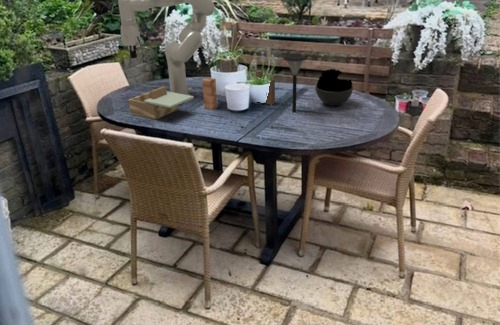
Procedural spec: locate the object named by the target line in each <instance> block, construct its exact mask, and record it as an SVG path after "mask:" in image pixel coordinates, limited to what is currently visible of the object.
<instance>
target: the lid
mask: <svg viewBox="0 0 500 325" xmlns="http://www.w3.org/2000/svg"><path fill="white" fill-rule="evenodd" d="M149 92H150V95H151V98H149V99H147V100H144V103H149V104H154V105H158V106H163V107H168V108H172V107H174V106H176V105H178V106H179V105H180V104H184V103H186V102H188V101H190V100H193V99H194V96H193V95H191V94H190V95H184V94H179V93H174V92H171V91H167V86H164V85H163V86H161V87H158V88H155V89H153V90H150V91H149Z"/></svg>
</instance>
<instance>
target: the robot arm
mask: <svg viewBox="0 0 500 325" xmlns="http://www.w3.org/2000/svg"><path fill="white" fill-rule="evenodd" d="M117 2H118V10H119V16H120V23H121V25H120V39H121V44H122V45H124V46H125V47H126V48H127V50H128V51H129V56H130V59H136V58H137V57H138V54H137V50H138V49H139V48H141V43H142V42H141V41H142V40H141V36H140V30H139V27H138V24H137V17H136V12H146V11H148V10H150V8H153V7H154V8H155V7H158V8H167V7H172V6H178V5H182V4H190V5H191V8H192V18H191V19H190V20H189V22H188V23H187V24H186V25H185V27H184V28H183V29H182V30H181V31H180V33H179V34H178V41H179V42H180V43H178V42H175V41H174V42H173V41H172V42H169V43H168V44H167V45H166V46H165V49H164V53H165V54H164V55H165V58H166V61H167V62H166V63H167V69H168V70H167V71H168V79H169V88H170V90H169V91H170V92H174V93H179V94H184V95H190V96H191V94H190V93H189V92H191V91H192V90H193V88H192V87H191V86H190V87H187V77H186V75H187V74H186V64H185V63H186V62H188V61H189V59H190V58H192V56H193V55H194V54H195V52H197V51H198V49H199V48H200V47H201V46H202V41H203V36H202V34H201V33H202V31H203V30H204V29H205V27H206V24H207V17H208V16H209V17H210V16H211V15H213V14H214V13H215V10H216V7H215V4H214V2H213V1H212V0H117Z"/></svg>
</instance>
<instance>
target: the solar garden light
mask: <svg viewBox="0 0 500 325" xmlns="http://www.w3.org/2000/svg"><path fill="white" fill-rule="evenodd" d="M282 58H283V59H282V60H284V61H287V64H288V66H289V69H290V71H291V73H292V107H291V108H292V109H291V110H292V113H294V112H295V113H296V112H297V77H298V76H297V75H298V72H299V71H300V69H301V67H302V64H303V62H304V61H307V60H308V57H307V56H304V55H303V54H301V53H290V54H288V55H286V56H284V57H282Z"/></svg>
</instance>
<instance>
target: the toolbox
mask: <svg viewBox="0 0 500 325" xmlns="http://www.w3.org/2000/svg"><path fill="white" fill-rule="evenodd" d="M149 98H151V95H150V91H148V92H145V93H143V94H141V95H140V94H139V95H137V96H134V97H132V98H129V99H128V107H129V113H130V115H133V116H137V117H142V118H146V119H150V120H154V121H155V120H158V119H160V118H162V117H165V116H168V115H169V114H172V113H174V112H175V111H178V110H179V105H176V106H174V107H172V108H168V107H163V106H158V105H154V104H149V103H144V100H147V99H149Z"/></svg>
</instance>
